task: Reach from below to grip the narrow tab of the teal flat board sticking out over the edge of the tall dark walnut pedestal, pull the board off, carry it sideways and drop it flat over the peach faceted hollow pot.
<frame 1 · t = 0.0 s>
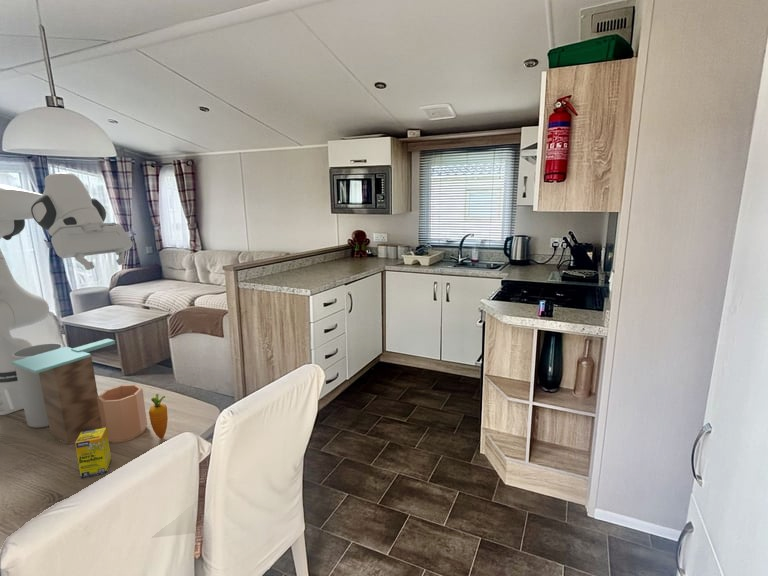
hand: (107, 266, 115), 54 cm above the table, tool tilted 30°, fingers open, 8 cm apart
cylinder vase: (51, 419, 135), on the table
pedestal: (77, 432, 127), on the table
supplement box: (97, 470, 109), on the table
carrot: (161, 439, 124), on the table
peach faceted hollow pot: (126, 432, 127), on the table
teal flat board: (52, 360, 119), point 26 cm above the table, touching pedestal
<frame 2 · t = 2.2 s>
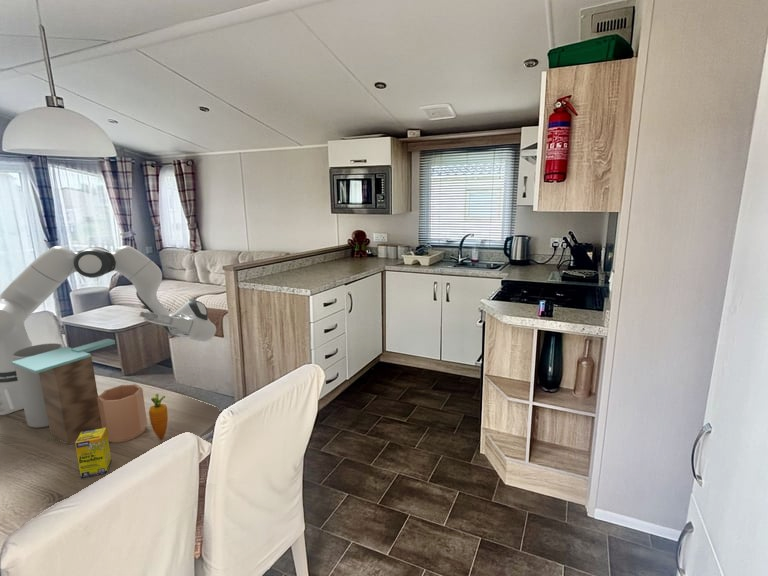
hand: (149, 315, 144), 32 cm above the table, tool pointing upward, fingers open, 8 cm apart
nothing on the table moved.
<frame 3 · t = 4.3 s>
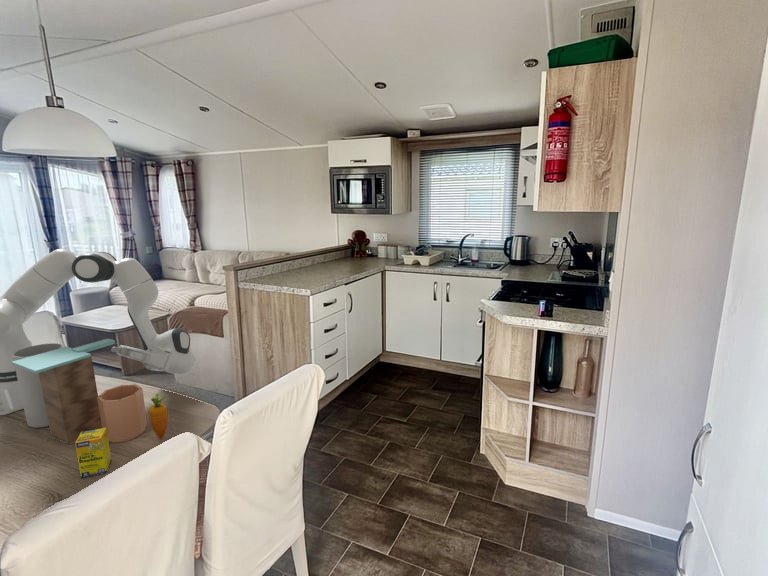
hand: (121, 351, 137), 22 cm above the table, tool pointing upward, fingers open, 8 cm apart
nothing on the table moved.
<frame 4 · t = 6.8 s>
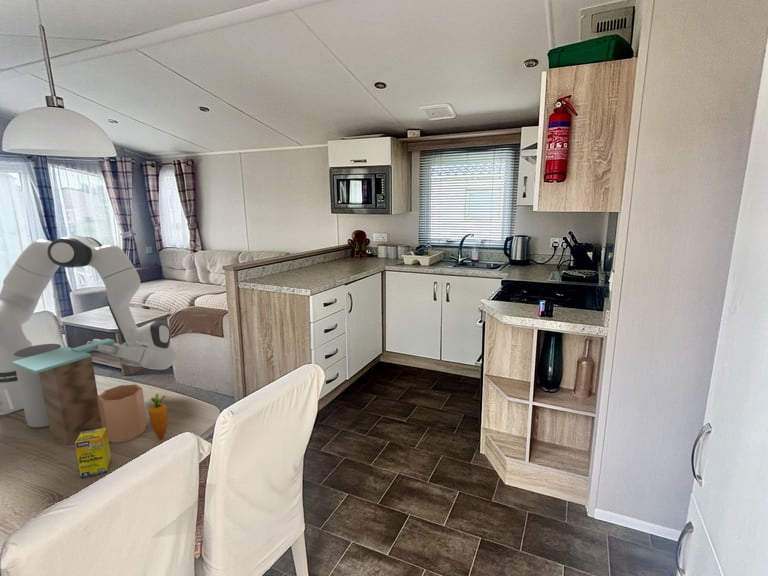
hand: (92, 345, 128), 27 cm above the table, tool pointing upward, fingers closed on teal flat board, 4 cm apart
teal flat board: (52, 360, 119), point 26 cm above the table, touching gripper, pedestal
everything else where it was.
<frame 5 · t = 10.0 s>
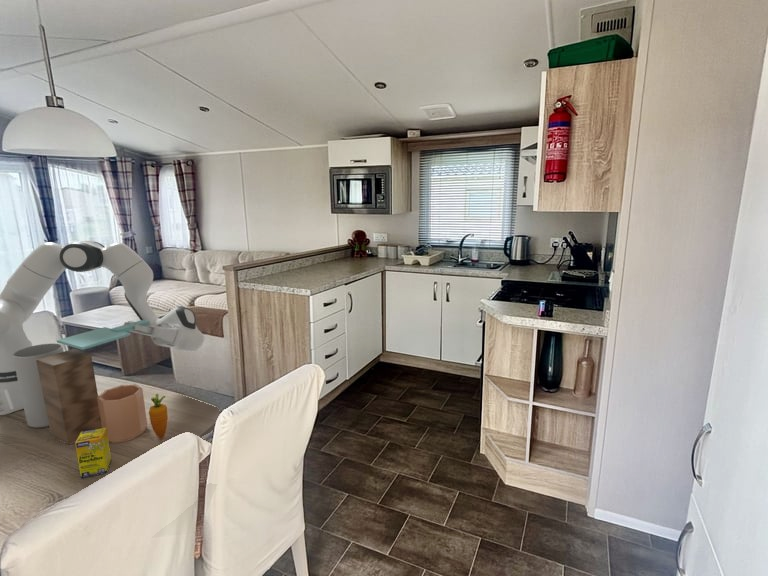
hand: (129, 325, 135), 31 cm above the table, tool pointing upward, fingers closed on teal flat board, 4 cm apart
teal flat board: (94, 338, 125), point 30 cm above the table, touching gripper
everything else where it was.
when the fingers open (19 cm above the table, at t = 13.5 s): teal flat board drops 4 cm, resting on peach faceted hollow pot.
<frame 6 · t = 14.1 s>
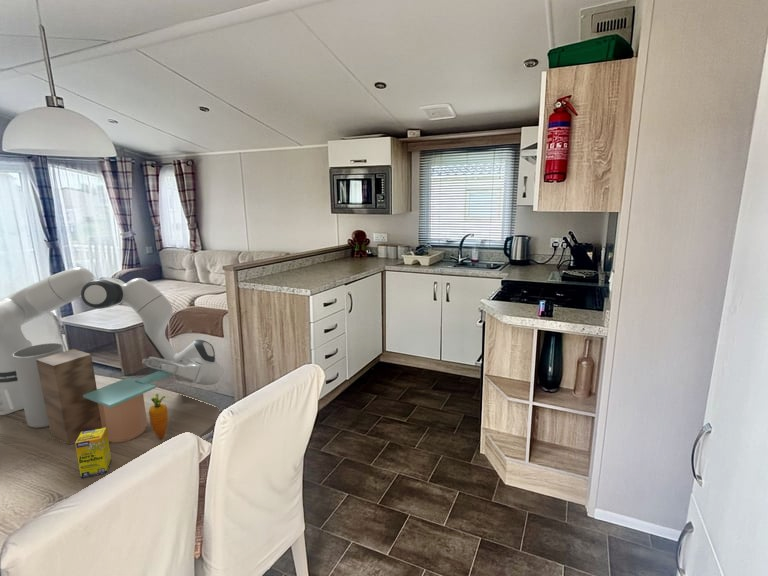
hand: (152, 363, 132), 19 cm above the table, tool pointing upward, fingers open, 8 cm apart
teal flat board: (120, 392, 124), point 14 cm above the table, touching peach faceted hollow pot
everything else where it was.
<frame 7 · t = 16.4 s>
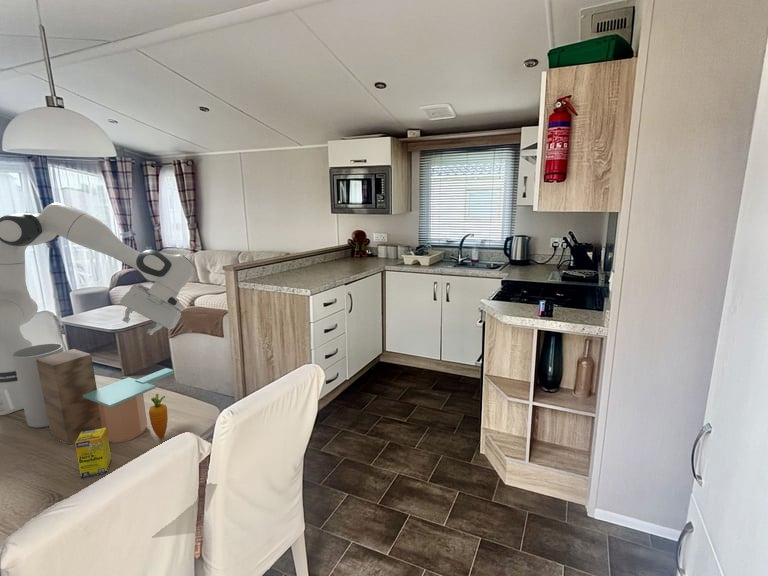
hand: (136, 327, 138), 29 cm above the table, tool tilted 45°, fingers open, 8 cm apart
nothing on the table moved.
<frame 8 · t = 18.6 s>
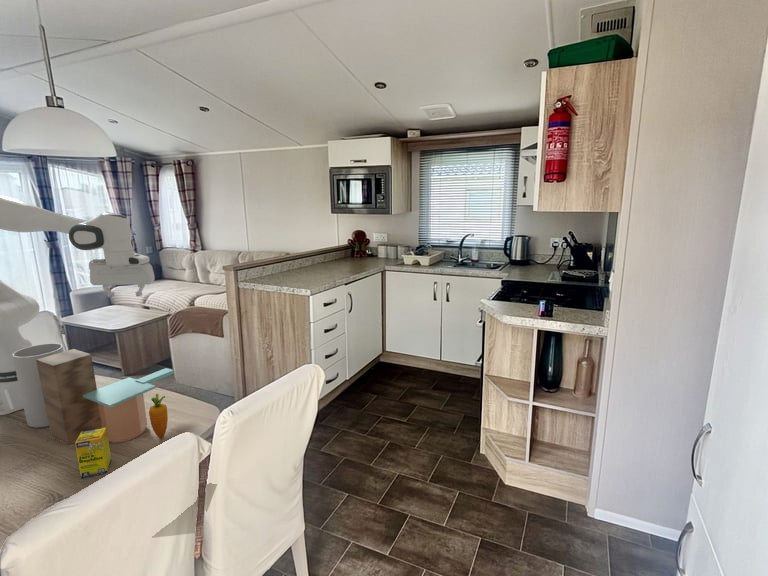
hand: (125, 296, 143), 39 cm above the table, tool pointing down, fingers open, 8 cm apart
nothing on the table moved.
at the end: teal flat board 0.1 cm off-centre on the peach faceted hollow pot, point 14.0 cm above the peach faceted hollow pot's base; teal flat board tilted 0°; the gripper is holding nothing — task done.
